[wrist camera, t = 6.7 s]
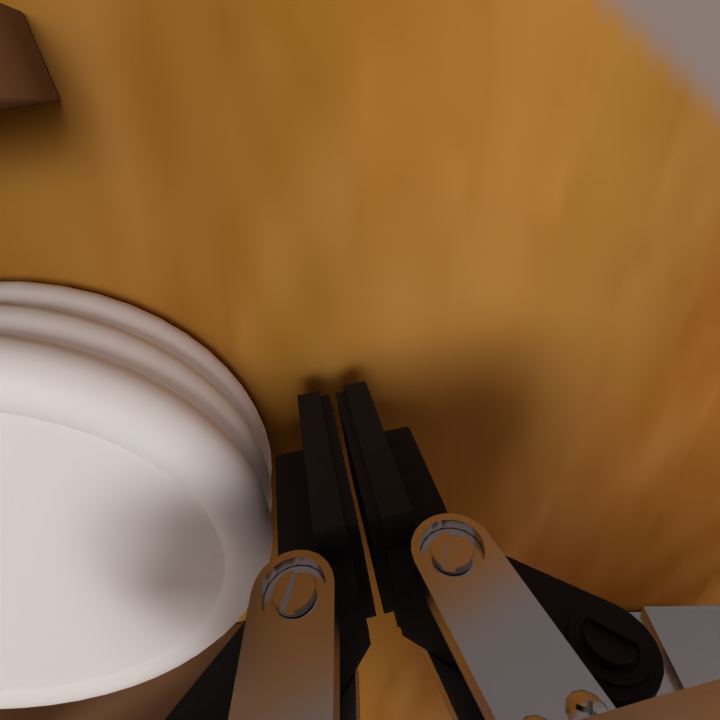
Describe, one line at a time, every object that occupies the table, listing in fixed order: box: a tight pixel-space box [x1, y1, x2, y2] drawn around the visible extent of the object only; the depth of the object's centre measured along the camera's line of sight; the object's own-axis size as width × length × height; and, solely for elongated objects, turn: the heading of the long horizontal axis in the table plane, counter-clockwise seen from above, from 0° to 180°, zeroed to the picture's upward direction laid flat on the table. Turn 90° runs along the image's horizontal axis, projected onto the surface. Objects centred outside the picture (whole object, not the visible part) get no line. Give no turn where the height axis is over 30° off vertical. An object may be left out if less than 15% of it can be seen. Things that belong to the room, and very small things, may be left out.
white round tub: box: [0, 281, 273, 709], centre depth 10 cm, size 10×10×4 cm
